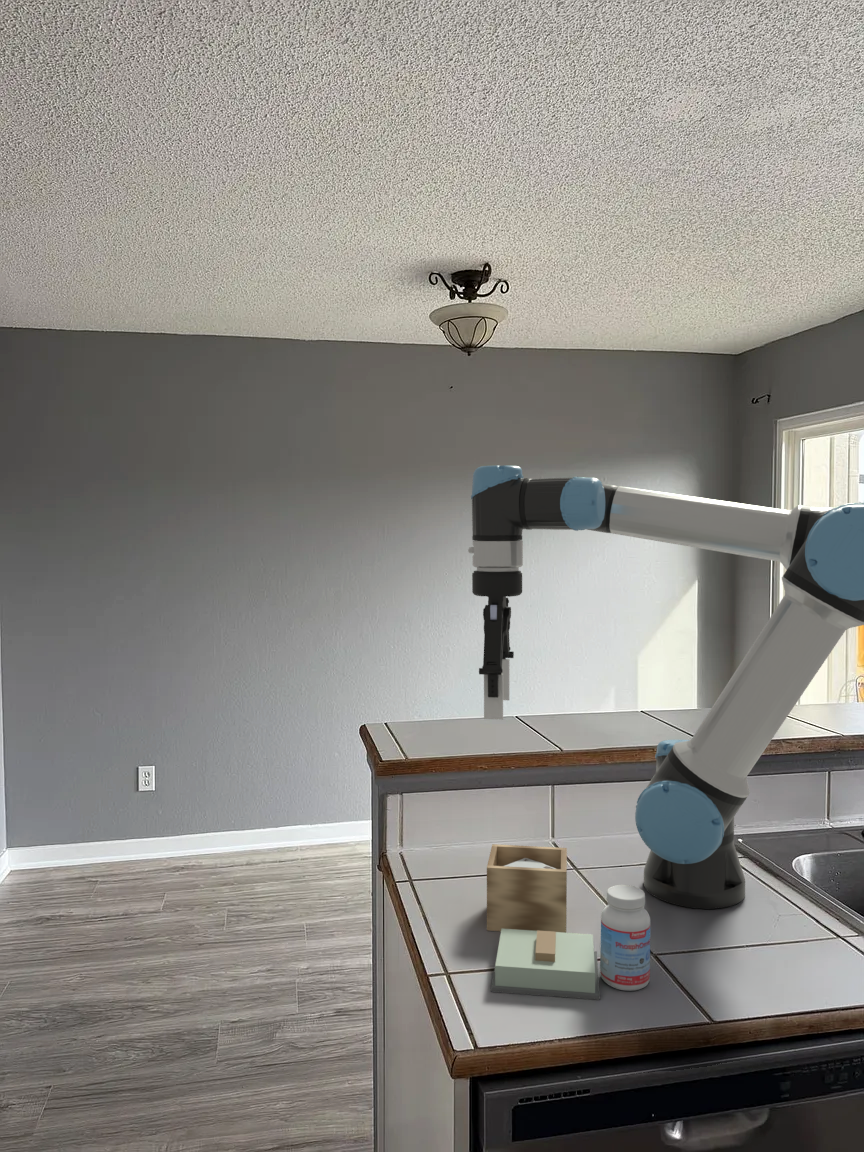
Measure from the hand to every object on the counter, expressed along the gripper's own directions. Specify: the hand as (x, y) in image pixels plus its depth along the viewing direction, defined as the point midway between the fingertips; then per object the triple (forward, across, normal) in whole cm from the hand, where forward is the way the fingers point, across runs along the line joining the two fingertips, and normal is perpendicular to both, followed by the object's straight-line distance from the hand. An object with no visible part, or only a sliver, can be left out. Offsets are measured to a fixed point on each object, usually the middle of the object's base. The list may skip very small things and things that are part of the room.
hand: (497, 709), depth 134 cm
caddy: (+29, +8, +5) cm, 30 cm away
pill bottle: (+29, +23, +18) cm, 41 cm away
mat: (+29, +23, +8) cm, 38 cm away
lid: (+28, +23, +8) cm, 37 cm away
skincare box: (+29, +8, +5) cm, 30 cm away
